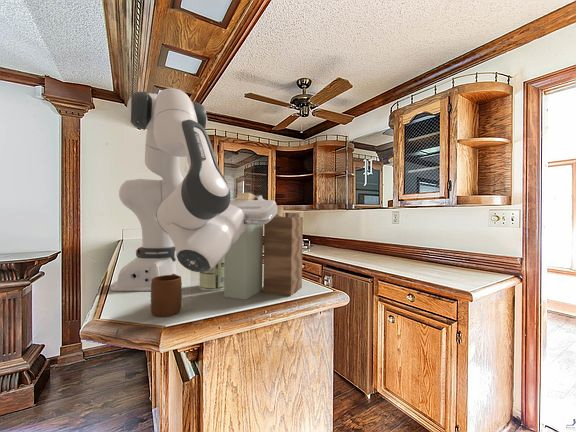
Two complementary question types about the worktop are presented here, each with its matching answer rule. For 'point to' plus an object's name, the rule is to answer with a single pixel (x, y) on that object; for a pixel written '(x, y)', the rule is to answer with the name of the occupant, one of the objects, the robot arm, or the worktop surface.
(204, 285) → the coffee can
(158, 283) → the mug
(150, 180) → the robot arm
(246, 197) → the tan wooden bar
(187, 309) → the worktop surface
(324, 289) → the worktop surface
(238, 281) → the shelf block
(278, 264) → the brown wooden block
